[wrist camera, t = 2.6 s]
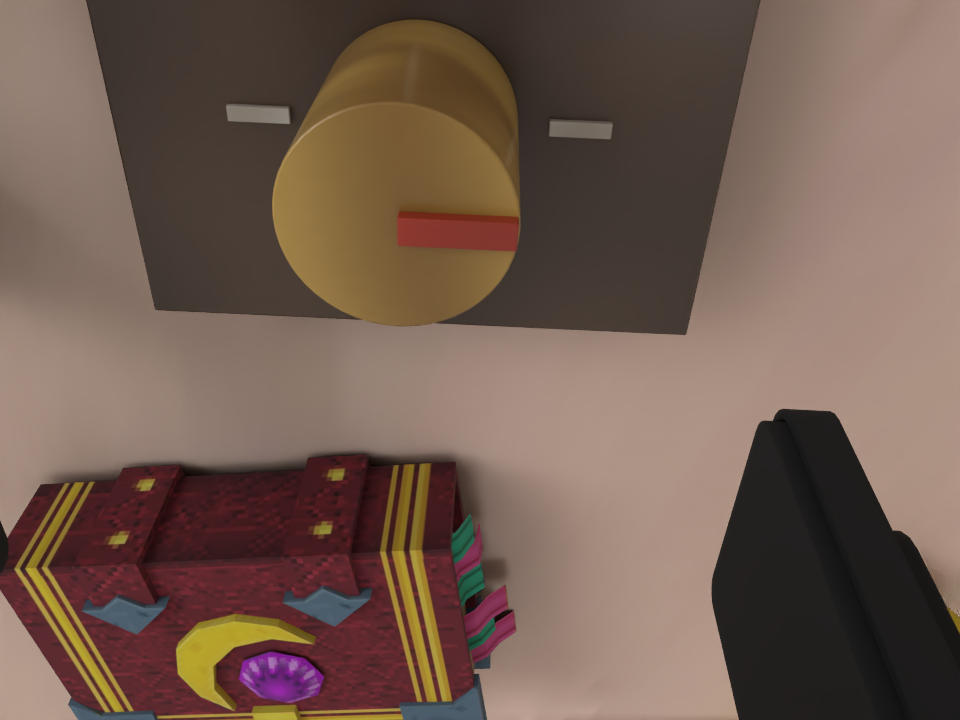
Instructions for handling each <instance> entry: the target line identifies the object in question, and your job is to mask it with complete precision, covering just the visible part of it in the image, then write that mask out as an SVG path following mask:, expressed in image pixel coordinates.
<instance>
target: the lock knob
mask: <svg viewBox="0 0 960 720" xmlns="http://www.w3.org/2000/svg"><path fill="white" fill-rule="evenodd" d="M272 214H273V222H274V227H275V232H276V235H277V238H278V241H279V244H280V247H281V249H282V251H283V253H284V255H285V257H286V259H287V261H288V262H289V264H290V265H291V267H292V268H293V270H294V271H295V273H296V274H297V275H298V276H299V278H300V279H301V280H302V281H303V282H304V284H305V285H307V286H308V287H309V288H310V289H311V290H312V291H313V292H314V293H315V294H316V295H318V296H319V297H320V298H322V299H323V300H324V301H326V302H327V303H328V304H330V305H332V306H334V307H335V308H337V309H339V310H340V311H343V312H345V313H347V314H349V315H351V316H354V317H356V318H359V319H363V320H366V321H369V322H373V323H378V324H383V325H391V326H418V325H427V324H432V323H436V322H440V321H444V320H446V319H449V318H452V317H455V316H457V315H459V314H461V313H463V312H465V311H467V310H469V309H470V308H472V307H473V306H475V305H476V304H478V303H479V302H480V301H482V300H483V299H484V298H485V297H486V296H487V295H488V294H490V293H491V292H492V291H493V289H494V288H495V287H496V286H497V285H498V284H499V283H500V281H501V280H502V278H503V277H504V275H505V274H506V272H507V271H508V269H509V267H510V265H511V263H512V260H513V258H514V256H515V252H516V251H517V246H518V242H519V235H520V177H519V137H518V111H517V104H516V99H515V95H514V92H513V88H512V86H511V84H510V81H509V79H508V77H507V75H506V73H505V71H504V70H503V68H502V66H501V65H500V64H499V62H498V61H497V60H496V58H495V57H494V56H493V55H492V54H491V53H490V52H489V51H488V50H487V49H486V48H485V47H484V46H483V45H482V44H481V43H479V42H478V41H477V40H475V39H474V38H473V37H471V36H470V35H468V34H466V33H464V32H463V31H461V30H459V29H456V28H454V27H451V26H449V25H446V24H442V23H439V22H435V21H428V20H401V21H395V22H390V23H387V24H384V25H380V26H378V27H376V28H374V29H372V30H369V31H367V32H366V33H364V34H363V35H361V36H360V37H358V38H357V39H355V40H354V41H353V42H352V43H351V44H350V45H349V46H348V47H346V49H345V50H344V51H343V52H342V53H341V55H340V56H339V57H338V58H337V60H336V62H335V63H334V65H333V66H332V68H331V70H330V72H329V74H328V76H327V77H326V79H325V81H324V83H323V85H322V87H321V89H320V91H319V93H318V94H317V96H316V98H315V100H314V102H313V104H312V106H311V108H310V110H309V111H308V113H307V115H306V117H305V119H304V121H303V123H302V125H301V127H300V128H299V130H298V132H297V134H296V136H295V138H294V140H293V142H292V144H291V146H290V147H289V149H288V151H287V153H286V155H285V157H284V159H283V161H282V163H281V166H280V168H279V170H278V173H277V176H276V180H275V184H274V188H273V197H272Z"/></svg>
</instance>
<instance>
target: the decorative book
mask: <svg viewBox="0 0 960 720" xmlns="http://www.w3.org/2000/svg"><path fill="white" fill-rule="evenodd" d="M7 539H8V544H9V552H8V558H7V561H6V565H5V567H4V569H3V571H2V573H1V574H0V590H1V592H2V593H3V595H4V596H5V598H6V599H7V601H8V602H9V604H10V605H11V607H12V608H13V610H14V611H15V613H16V614H17V616H18V617H19V619H20V620H21V622H22V623H23V625H24V626H25V628H26V629H27V631H28V632H29V634H30V635H31V637H32V638H33V640H34V641H35V643H36V644H37V646H38V647H39V649H40V650H41V652H42V653H43V655H44V656H45V658H46V659H47V661H48V662H49V664H50V665H51V667H52V668H53V670H54V671H55V673H56V674H57V676H58V677H59V679H60V680H61V682H62V683H63V685H64V686H65V688H66V689H67V691H68V692H69V694H70V696H71V699H70V702H69V704H68V705H69V706H70V708H71V709H72V711H73V713H74V714H75V716H76V717H77V719H78V720H487V717H486V712H485V706H484V700H483V695H482V689H481V683H480V677H479V674H474V669H486V668H490V653H491V652H492V651H493V650H494V648H495V647H496V646H497V645H498V644H499V643H500V642H501V641H503V640H504V639H506V638H507V637H509V636H510V635H512V634H513V633H515V632H516V625H515V617H514V611H513V612H511V613H510V614H508V615H507V616H505V617H504V618H502V619H501V620H499V621H498V622H496V623H495V621H494V617H495V616H497V615H498V614H500V613H501V612H503V611H504V610H506V609H508V600H507V592H506V585H504V586H503V587H501V588H499V589H498V590H496V591H495V592H493V593H491V594H490V595H488V596H487V597H486V598H485V599H484V601H483V602H482V599H481V596H479V597H478V598H477V596H476V593H477V592H479V591H480V590H482V589H483V588H485V584H484V578H483V571H482V564H481V563H480V560H481V555H482V550H483V545H482V538H481V531H480V524H479V525H478V529H477V534H476V538H474V532H473V525H472V518H471V513H470V514H469V515H468V517H467V518H466V519H465V520H464V513H463V507H462V501H461V494H460V488H459V482H458V475H457V469H456V463H455V462H444V463H425V464H407V465H389V466H371V467H370V464H369V460H368V456H367V455H350V456H332V457H314V458H308V460H307V464H306V468H305V470H297V471H279V472H261V473H243V474H224V475H206V476H188V477H185V475H184V473H183V470H182V468H181V466H180V465H171V466H153V467H135V468H123V470H122V472H121V474H120V475H119V477H118V479H117V480H115V481H96V482H78V483H60V484H42V485H40V487H39V488H38V490H37V491H36V493H35V495H34V496H33V498H32V499H31V501H30V503H29V504H28V506H27V507H26V509H25V511H24V512H23V514H22V515H21V517H20V519H19V520H18V522H17V523H16V525H15V527H14V528H13V530H12V531H11V533H10V535H9V536H8V538H7Z"/></svg>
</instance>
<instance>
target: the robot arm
mask: <svg viewBox="0 0 960 720" xmlns="http://www.w3.org/2000/svg"><path fill="white" fill-rule="evenodd" d="M8 552H9V544H8V539H7V536H6V534H5V531H4V529H3V526H2V524H1V522H0V574H1V573H2V571H3V569H4V567H5V565H6V561H7V558H8ZM712 603H713V609H714V613H715V618H716V622H717V626H718V631H719V635H720V639H721V644H722V648H723V653H724V657H725V661H726V666H727V670H728V674H729V679H730V683H731V687H732V692H733V696H734V700H735V705H736V709H737V713H738V718H739V720H960V633H959V631H958V629H957V627H956V625H955V623H954V621H953V619H952V617H951V615H950V613H949V611H948V609H947V607H946V605H945V603H944V601H943V599H942V597H941V595H940V593H939V591H938V589H937V587H936V585H935V583H934V581H933V579H932V577H931V575H930V573H929V571H928V569H927V567H926V565H925V563H924V561H923V559H922V557H921V555H920V553H919V551H918V549H917V548H916V546H915V545H914V543H913V542H912V540H911V539H910V538H909V537H908V536H907V535H905V534H904V533H903V532H901V531H892V528H891V526H890V524H889V522H888V520H887V518H886V516H885V514H884V512H883V510H882V508H881V506H880V504H879V502H878V499H877V497H876V495H875V493H874V491H873V489H872V487H871V485H870V483H869V481H868V479H867V477H866V475H865V472H864V470H863V468H862V466H861V464H860V462H859V460H858V458H857V456H856V454H855V452H854V450H853V448H852V446H851V443H850V441H849V439H848V437H847V435H846V433H845V431H844V429H843V427H842V425H841V423H840V421H839V419H838V418H837V416H836V415H835V414H834V413H832V412H831V411H814V410H794V409H781V410H779V411H778V412H777V413H776V415H775V417H774V419H773V421H761V422H760V424H759V425H758V427H757V430H756V433H755V436H754V440H753V443H752V446H751V450H750V453H749V456H748V460H747V463H746V466H745V470H744V473H743V476H742V480H741V483H740V487H739V490H738V493H737V497H736V500H735V503H734V507H733V510H732V513H731V517H730V520H729V523H728V527H727V530H726V534H725V537H724V540H723V544H722V547H721V550H720V554H719V557H718V560H717V564H716V567H715V570H714V574H713V579H712Z"/></svg>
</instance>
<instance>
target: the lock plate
mask: <svg viewBox="0 0 960 720" xmlns="http://www.w3.org/2000/svg"><path fill="white" fill-rule="evenodd" d="M86 2H87V6H88V10H89V15H90V19H91V24H92V28H93V33H94V37H95V42H96V46H97V51H98V55H99V60H100V64H101V69H102V73H103V78H104V82H105V87H106V91H107V96H108V100H109V105H110V109H111V114H112V118H113V123H114V127H115V132H116V136H117V141H118V145H119V150H120V154H121V158H122V163H123V167H124V172H125V176H126V181H127V185H128V190H129V194H130V199H131V203H132V208H133V212H134V217H135V221H136V226H137V230H138V235H139V239H140V244H141V248H142V253H143V257H144V262H145V266H146V271H147V275H148V280H149V284H150V289H151V293H152V298H153V302H154V307H155V309H156V310H167V311H188V312H209V313H231V314H252V315H273V316H294V317H315V318H336V319H358V320H363V319H359V318H356V317H354V316H351V315H349V314H347V313H345V312H343V311H340V310H339V309H337V308H335V307H334V306H332V305H330V304H328V303H327V302H326V301H324V300H323V299H322V298H320V297H319V296H318V295H316V294H315V293H314V292H313V291H312V290H311V289H310V288H309V287H308V286H307V285H305V284H304V282H303V281H302V280H301V279H300V278H299V276H298V275H297V274H296V273H295V271H294V270H293V268H292V267H291V265H290V264H289V262H288V261H287V259H286V257H285V255H284V253H283V251H282V249H281V247H280V244H279V241H278V238H277V235H276V232H275V227H274V222H273V214H272V197H273V188H274V184H275V180H276V176H277V173H278V170H279V168H280V166H281V163H282V161H283V159H284V157H285V155H286V153H287V151H288V149H289V147H290V146H291V144H292V142H293V140H294V138H295V136H296V134H297V132H298V130H299V128H300V127H301V125H302V123H303V121H304V119H305V117H306V115H307V113H308V111H309V110H310V108H311V106H312V104H313V102H314V100H315V98H316V96H317V94H318V93H319V91H320V89H321V87H322V85H323V83H324V81H325V79H326V77H327V76H328V74H329V72H330V70H331V68H332V66H333V65H334V63H335V62H336V60H337V58H338V57H339V56H340V55H341V53H342V52H343V51H344V50H345V49H346V47H348V46H349V45H350V44H351V43H352V42H353V41H354V40H355V39H357V38H358V37H360V36H361V35H363V34H364V33H366V32H367V31H369V30H372V29H374V28H376V27H378V26H380V25H384V24H387V23H390V22H395V21H401V20H428V21H435V22H439V23H442V24H446V25H449V26H451V27H454V28H456V29H459V30H461V31H463V32H464V33H466V34H468V35H470V36H471V37H473V38H474V39H475V40H477V41H478V42H479V43H481V44H482V45H483V46H484V47H485V48H486V49H487V50H488V51H489V52H490V53H491V54H492V55H493V56H494V57H495V58H496V60H497V61H498V62H499V64H500V65H501V66H502V68H503V70H504V71H505V73H506V75H507V77H508V79H509V81H510V84H511V86H512V88H513V92H514V95H515V99H516V104H517V111H518V137H519V177H520V235H519V242H518V246H517V251H516V252H515V256H514V258H513V260H512V263H511V265H510V267H509V269H508V271H507V272H506V274H505V275H504V277H503V278H502V280H501V281H500V283H499V284H498V285H497V286H496V287H495V288H494V289H493V291H492V292H491V293H490V294H488V295H487V296H486V297H485V298H484V299H483V300H482V301H480V302H479V303H478V304H476V305H475V306H473V307H472V308H470V309H469V310H467V311H465V312H463V313H461V314H459V315H457V316H455V317H452V318H449V319H446V320H444V321H440V322H436V323H442V324H464V325H485V326H506V327H527V328H548V329H569V330H591V331H612V332H633V333H654V334H675V335H686V333H687V329H688V324H689V320H690V315H691V311H692V306H693V302H694V297H695V293H696V288H697V284H698V279H699V275H700V270H701V266H702V261H703V257H704V252H705V248H706V243H707V239H708V234H709V230H710V225H711V221H712V216H713V212H714V207H715V202H716V198H717V193H718V189H719V184H720V180H721V175H722V171H723V166H724V162H725V157H726V153H727V148H728V144H729V139H730V135H731V130H732V126H733V121H734V117H735V112H736V108H737V103H738V99H739V94H740V90H741V85H742V81H743V76H744V72H745V67H746V63H747V58H748V54H749V49H750V45H751V40H752V36H753V31H754V27H755V22H756V18H757V13H758V8H759V4H760V0H86Z"/></svg>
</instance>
